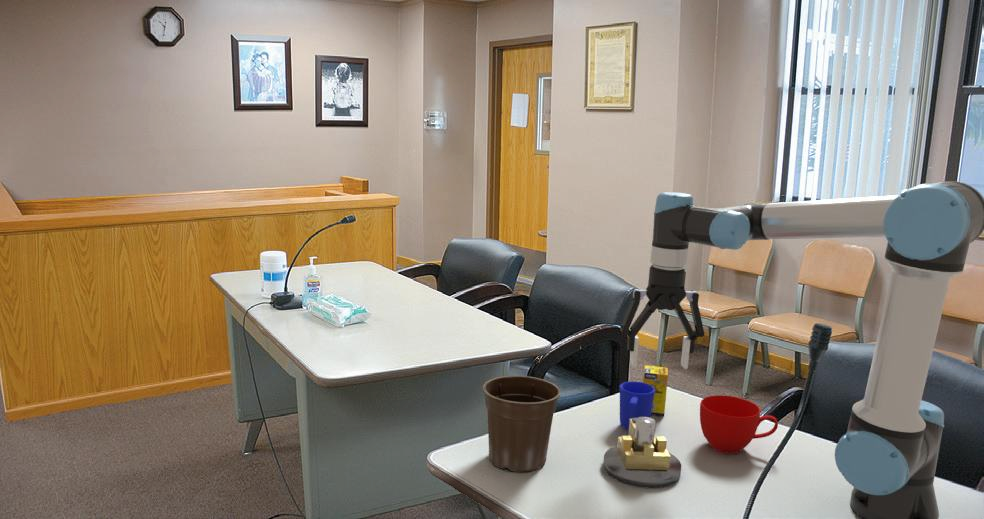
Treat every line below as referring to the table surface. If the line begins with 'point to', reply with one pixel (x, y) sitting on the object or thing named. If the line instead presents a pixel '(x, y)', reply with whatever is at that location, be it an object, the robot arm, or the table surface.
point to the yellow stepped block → (643, 452)
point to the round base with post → (641, 476)
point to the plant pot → (519, 420)
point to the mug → (635, 401)
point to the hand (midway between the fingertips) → (658, 366)
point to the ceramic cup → (731, 422)
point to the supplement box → (657, 387)
